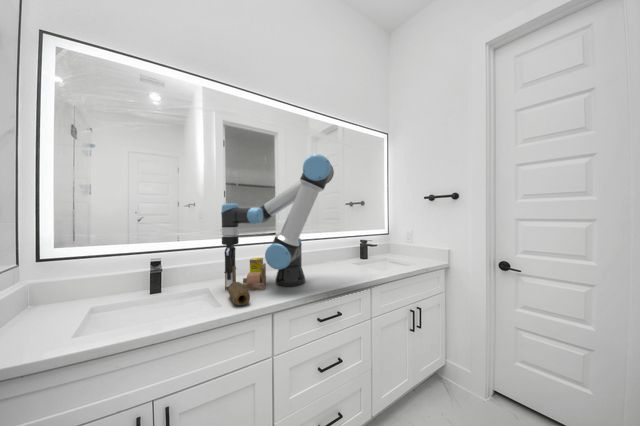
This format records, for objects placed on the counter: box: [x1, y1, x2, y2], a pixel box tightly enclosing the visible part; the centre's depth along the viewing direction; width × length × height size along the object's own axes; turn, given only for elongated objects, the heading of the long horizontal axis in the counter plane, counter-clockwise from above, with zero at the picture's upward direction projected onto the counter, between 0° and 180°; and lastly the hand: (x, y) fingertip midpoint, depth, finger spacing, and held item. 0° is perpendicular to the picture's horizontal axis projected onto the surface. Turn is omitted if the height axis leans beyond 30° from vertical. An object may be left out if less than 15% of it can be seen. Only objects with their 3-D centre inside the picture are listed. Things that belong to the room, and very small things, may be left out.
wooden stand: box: [242, 262, 267, 292], centre depth 115 cm, size 11×12×10 cm
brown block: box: [224, 265, 261, 290], centre depth 115 cm, size 16×7×10 cm, turn 100°
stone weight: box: [227, 281, 251, 306], centre depth 97 cm, size 15×7×7 cm, turn 35°
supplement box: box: [249, 257, 264, 277], centre depth 131 cm, size 6×6×11 cm
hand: (230, 284), depth 114 cm, fingers closed on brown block, 4 cm apart
